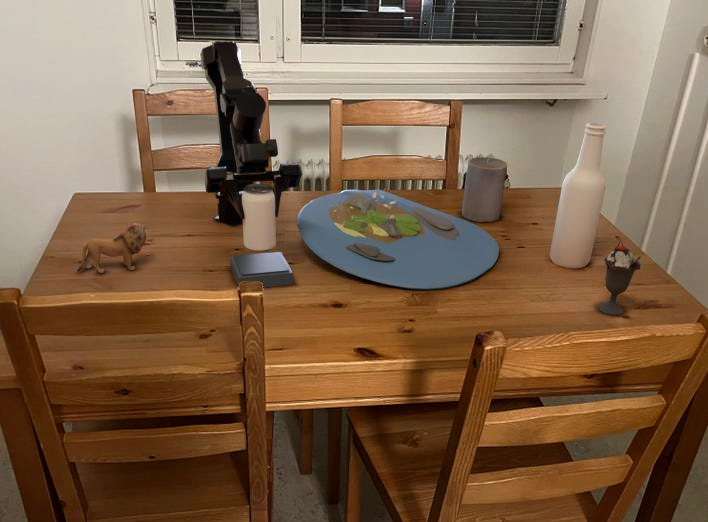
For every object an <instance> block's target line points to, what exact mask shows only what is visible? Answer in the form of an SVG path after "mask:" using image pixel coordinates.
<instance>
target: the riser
mask: <svg viewBox="0 0 708 522" xmlns="http://www.w3.org/2000/svg"><path fill="white" fill-rule="evenodd" d="M229 269H230V271H231V273H232V276H233V278H234V280H235V283H236V285H237V287H238V286H239V283H240V282H242V281H260V282H262V283H263V286H264V288H263V289H266V288H275V287H284V286H285V287H287V286H293V285H294V271H293V270H292V268H291V267H290V264H289V263H288V261H287V259H286V258H285V256H284V255H283V252H282V251H274V252H273V251H272V252H262V253H261V252H260V253H250V254H239V255H230V256H229Z"/></svg>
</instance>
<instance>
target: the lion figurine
mask: <svg viewBox="0 0 708 522" xmlns="http://www.w3.org/2000/svg"><path fill="white" fill-rule="evenodd" d="M146 241H147V232H146V229H145V225H143V224H141V223H137V222H134V223H131V224H129V225H127V228H126V230H124V231H123V232H121V233H120V234H119V235H117V237H115V238H112V239H103V238H91V239H89V240H87V242H85V244H84V246H83V248H82V255H81V263H80V266H79V267H78V268H77V269H76V272H80V271H82V269H83V268H85V269H91V268H92V265H91V264H89V262H90V261H91V260H93V267H94V268H95V270H96V271H97V273H99V274H104V273H105V272H106V271H105V269H104V268H100V265H99V263H100V259H101V254H102V255H104V256H106V257H110V258H119V257H122V258H123V264H124V265H125V266H126V267H127V268H128V270H129V271H135V270H136V266H133V255H136V254H139V253H140V252H141V250H142V248H143V247H144V245H145V244H146Z"/></svg>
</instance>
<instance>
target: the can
mask: <svg viewBox="0 0 708 522" xmlns="http://www.w3.org/2000/svg"><path fill="white" fill-rule="evenodd" d="M272 190H273V186H271V185H269V184H266V183H253V184H250V185H247V186H245V187H244V192H243V194H242V206H243V210H244V216H245V218H244V219H243V222H242V232H243V233H242V235H243V237H242V238H243V246H244V247H245V249H247V250H248V251H251V252H260V253H261V252H262V253H263V252H267V251H271V250H272V249H274V248H275V246H276V245H277V225H276V223H277V222H276V221H277V220H276V218H277V217H275V195H274V193H273V191H272Z"/></svg>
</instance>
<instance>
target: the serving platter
mask: <svg viewBox="0 0 708 522" xmlns="http://www.w3.org/2000/svg"><path fill="white" fill-rule="evenodd" d="M296 227H297V229H298V231H299V233H300V235H301V238H302V240H303V242H304V243H305V244H306V245H307V247H308V248H309V249H310V250H311V251H312V252H313V253H314V254H316V255H317V256H318V258H320V259H322V260H323V261H325V262H326V263H328V264H330V265H331V266H333V267H335V268H336V269H338V270H340V271H343V272H344V273H347V274H349V275H352V276H355V277H357V278H360V279H363V280H367V281H370V282H374V283H377V284H380V285H381V284H382V285H386V286H389V287H390V286H391V287H396V288H401V289H407V290H419V291H431V290H433V291H434V290H443V289H450V288H455V287H459V286H462V285H465V284H467V283H469V282H472V281H474V280H476V279H478V278H479V277H481V276H482V275H483V274H485V273H486V272H488V271H490V270H491V269H492V268H493V266H494V265H495V264H496V262H497V260H498V257H499V254H500V247H499V244H498V242H497V241H496V240H495V239H494V237H493V236H492V235H491V234H490V233H489V232H487V230H484V229H483V228H482V227H480V226H478V225H476V224H475V223H472V222H470V221H468V220H465V219H462V218H459V217H456V216H455V215H451V214H449V213H445V212H443V211H439V210H438V209H434V208H432V207H429V206H425V205H423V204H421V203H417V202H415V201H413V200H410V199H407V198H404V197H401V196H399V195H395V194H393V193H390V192H388V191H386V188H385V187H384V188H383V189H368V190H362V189H345V190H342V191H341V192H336V193H335V192H334V193H330V194H325V195H322V196H318V197H317V198H315V199H312V200H310V201H309V202H307V203H306V204H305V205H304V206H303V207H301V209H300V210H299V212H298V215H297V218H296Z"/></svg>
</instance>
